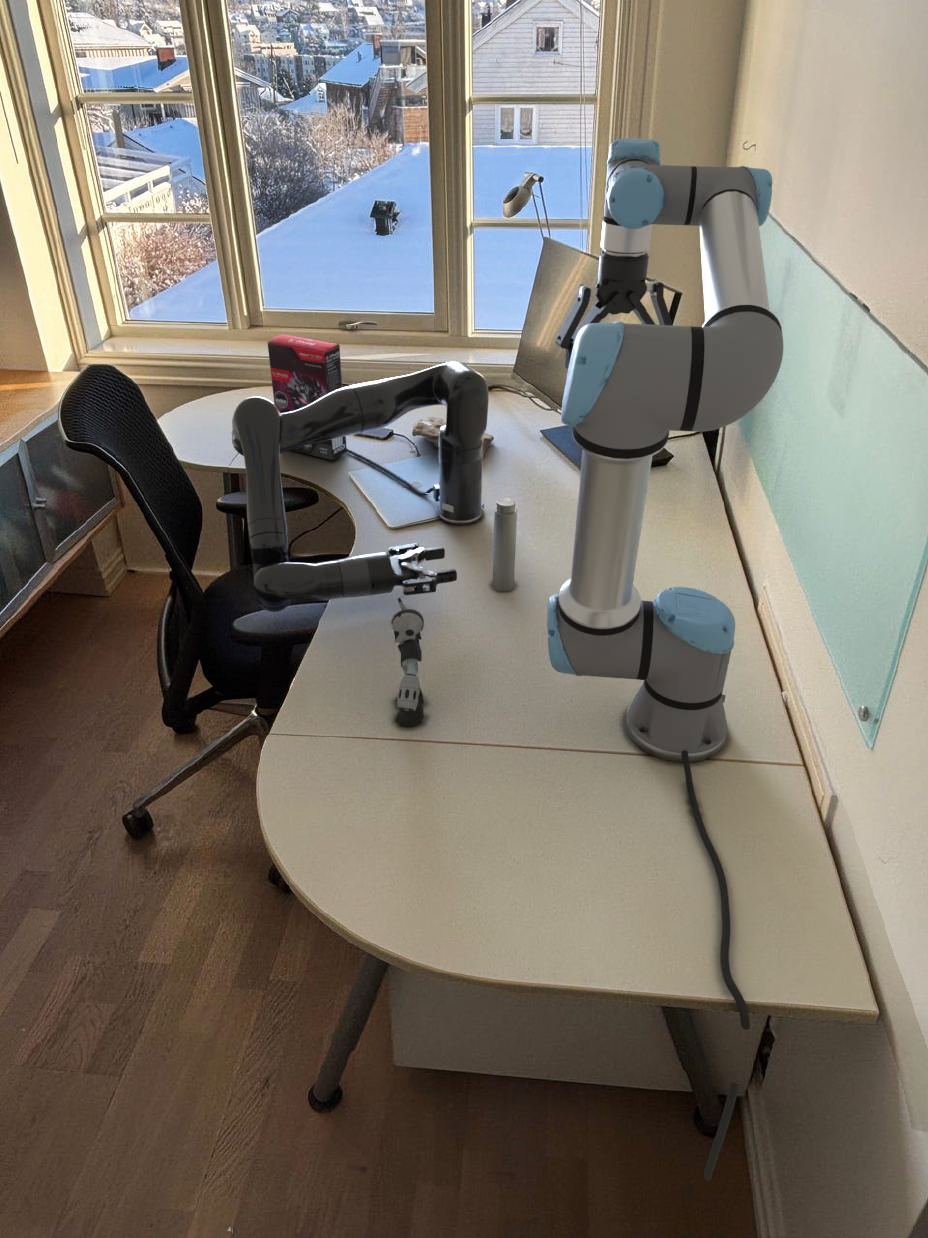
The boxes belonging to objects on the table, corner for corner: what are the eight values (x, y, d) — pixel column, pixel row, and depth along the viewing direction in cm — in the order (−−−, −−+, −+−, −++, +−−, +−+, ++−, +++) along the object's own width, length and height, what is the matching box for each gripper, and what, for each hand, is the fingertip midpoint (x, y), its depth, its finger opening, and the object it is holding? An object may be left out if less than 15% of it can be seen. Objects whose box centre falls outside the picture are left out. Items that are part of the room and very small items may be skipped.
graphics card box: (276, 448, 231) (264, 340, 216) (293, 439, 236) (282, 332, 221) (333, 462, 225) (324, 351, 209) (349, 452, 230) (341, 343, 214)
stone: (396, 441, 228) (401, 417, 225) (415, 432, 241) (420, 409, 239) (476, 465, 224) (482, 442, 222) (491, 455, 237) (496, 432, 235)
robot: (426, 751, 138) (424, 643, 127) (394, 752, 138) (389, 643, 127) (424, 672, 155) (422, 570, 143) (395, 673, 154) (391, 570, 143)
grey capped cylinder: (488, 584, 179) (490, 500, 169) (505, 578, 181) (508, 494, 171) (500, 593, 176) (503, 508, 166) (518, 587, 178) (522, 503, 168)
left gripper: (358, 573, 176) (440, 562, 180) (373, 613, 165) (460, 600, 168) (356, 538, 172) (440, 528, 176) (371, 577, 160) (460, 564, 164)
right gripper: (686, 241, 148) (668, 370, 160) (540, 250, 142) (533, 383, 154) (709, 251, 142) (689, 385, 154) (557, 261, 136) (549, 399, 148)
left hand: (450, 563), depth 172 cm, fingers open, 8 cm apart
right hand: (611, 384), depth 154 cm, fingers open, 13 cm apart
